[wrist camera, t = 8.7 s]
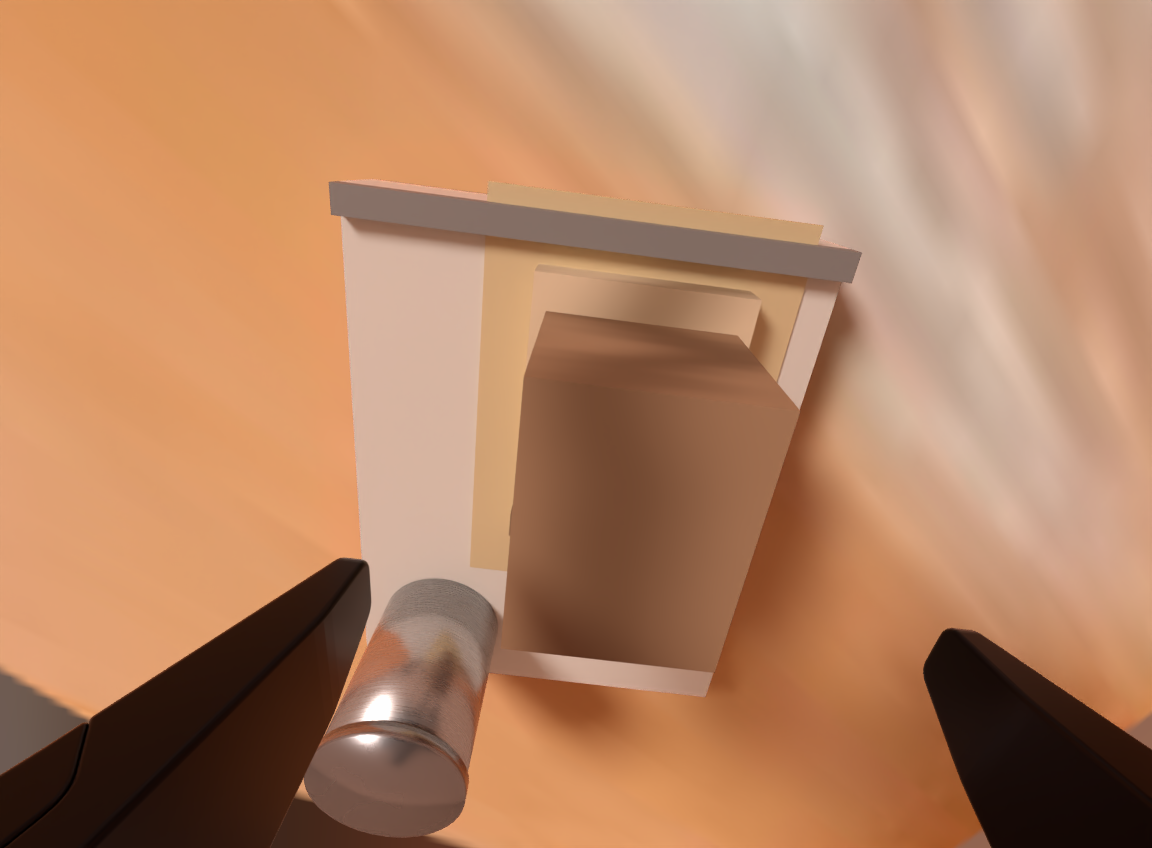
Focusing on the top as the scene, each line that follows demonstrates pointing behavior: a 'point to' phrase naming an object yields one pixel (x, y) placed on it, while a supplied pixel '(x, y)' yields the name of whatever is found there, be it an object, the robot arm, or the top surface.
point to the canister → (409, 715)
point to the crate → (639, 468)
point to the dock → (521, 361)
